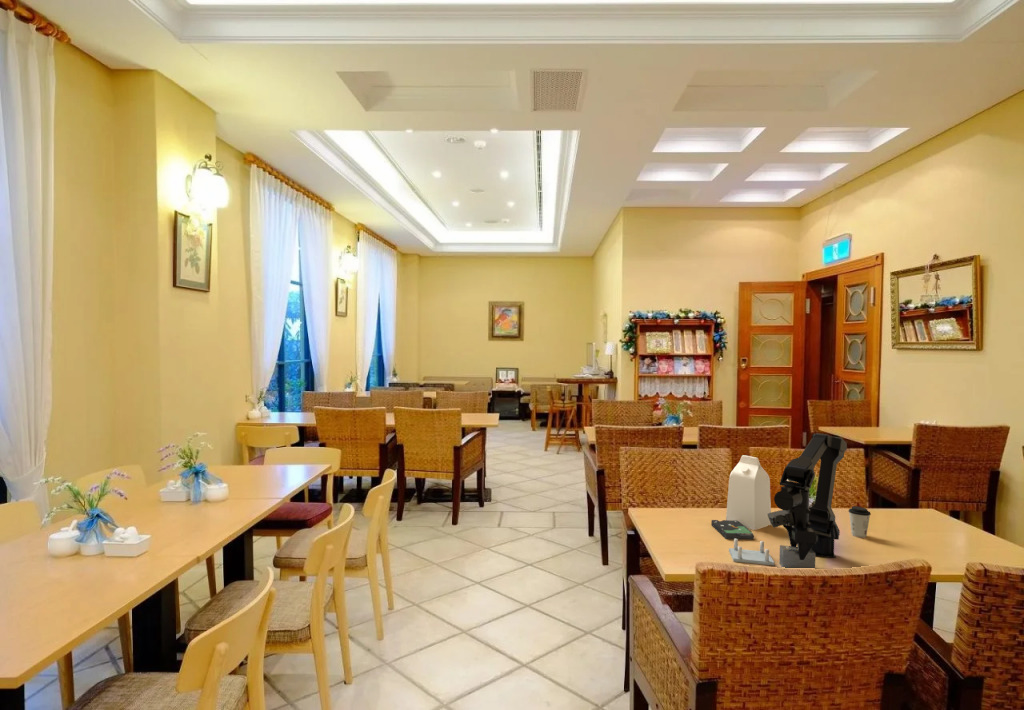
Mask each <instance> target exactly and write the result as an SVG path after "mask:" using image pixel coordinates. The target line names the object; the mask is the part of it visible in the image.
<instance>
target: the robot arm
mask: <svg viewBox="0 0 1024 710" xmlns="http://www.w3.org/2000/svg"><path fill="white" fill-rule="evenodd" d="M847 444H848V443H847V441H845V440H844V438H843V437H837V436H832V435H829V434H825V433H818V432H816V433H813V434H812V435H811V439H810V441H809V443H808V444H807V445H806V447H805V448H804V449H803V451H802V453H801V454H800V455H799V457H796V458H793V459H791V460H790V461H789V462H788V463H787V465H785V467H784V469H783V473H782V475H781V477H780V480H779V481H780V482H779V486H781V488H780V490H779V491H777V492H776V493H775V494H774V496H773V502H774V503H775V506H776V507H777V508H779V509H780V510H777V511H776V510H775V511H773V512H772V511H771V513H768V514H767V515H768V518H769V520H770V523H771V525H770V526H772V527H773V528H778V527H780V526H782V527H783V528H784V529H786V532H787V535H788V538H789V539H788V540H789V543H790V546H795V547H798V553H799V559H800V560H804V559H805V557H806V555H807V554H808V552H809V551H810V549H812V550H813V551H814V552H815V553H816V556H815V557H824V558H825V557H827V558H834V559H835V558H836V557H837V556H836V555H835V540H839V539H840V537H839V536H840V533H841V531H840V529H839V527H838V525H837V522H836V515H835V513H834V511H833V509H832V502H833V494H834V490H835V488H834V487H835V483H836V482H835V481H836V473H837V467H838V464H839V462H840V461H841V460H842V459H844V457H845V452H846V451H847V448H848V445H847ZM819 461H820V465H819V472H818V479H817V485H816V486H817V487H816V492H815V499H814V500H815V501H814V503H813V505H811V506H810V489H811V488H812V485H813V483H814V481H815V478H816V474H815V473H816V472H815V469H814V468H815V467H816V465H817V464H818V462H819Z"/></svg>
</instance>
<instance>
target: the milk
mask: <svg viewBox="0 0 1024 710" xmlns="http://www.w3.org/2000/svg"><path fill="white" fill-rule="evenodd" d="M727 491H728V492H727V500H726V513H725V514H726V516H725V520H732V521H733V520H734V521H739V522H740V523H741V524H743V525H744V526H745V527H746V528H748V529H749V530H752V531H756V530H759V529H762V528H767V527H769V526H772V525H771V523H770V520H769V518H768V515H767V514H768V513H772V509H771V508H772V507H771V506H772V505H771V502H772V501H771V479H770V476H769V474H768V472H767V471H766V470H765V469H764V468H763V467H762V465H761V463H760V460H759V458H758V457H755V456H750V455H746V454H745V455H741V457H740V460H739V462H738V463H737V464H736V465H735V466H734V468H733V469H732V470H731V472H730V474H729V479H728V489H727ZM768 525H769V526H768Z"/></svg>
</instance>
